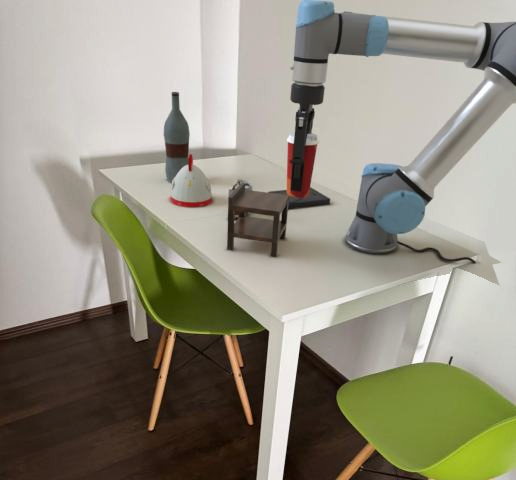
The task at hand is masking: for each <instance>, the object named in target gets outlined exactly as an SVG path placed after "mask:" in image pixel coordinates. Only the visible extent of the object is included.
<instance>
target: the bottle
mask: <svg viewBox="0 0 516 480" xmlns="http://www.w3.org/2000/svg"><path fill="white" fill-rule="evenodd" d="M170 94H171V109H170V112H169V114H168V116H167V118H166V120H165V121H164V125H163V140H164V146H165V148H164V149H165V156H166V157H165V166H164V167H165V170H164V171H165V176H166V180H167V181H168V182H169V183H171V184H172V180H173V179H174V177H176V175H177V173H178V172H179V171H180V170H181V169H182V168H183V167H184V166H186V165H188V163H189V152H190V149H189V148H190V137H191V136H190V127H189V123H188V121H187V119H186V118H185V116H184V114H183V112H182V111H181V107H180V92H179V91H172V92H170Z"/></svg>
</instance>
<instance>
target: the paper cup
mask: <svg viewBox="0 0 516 480" xmlns="http://www.w3.org/2000/svg"><path fill="white" fill-rule="evenodd" d="M294 136H295V131H294V132H290V133H289V135H288V137H287V138H286V142H287V155H286V157H287V159H286V161H287V163H286V190H287V194H288V195H289V196H292V197H299V198H301V197H307V196H308V195H309V190H310V187H311V184H312V178H313V173H314V167H315V162H316V161H315V160H316V154H317V150H318V149H317V148H318V144H320V141H319V140H318V139H319V137H318V135H317V134H315V133H310V134H308V135H307V139H306V147H305V156H304V173H303V183H302V191H301V192H300V191H292V190H290V188H291V177H292V166H293V163H290V160H292V155H293V146H294ZM297 158H299V157H297Z"/></svg>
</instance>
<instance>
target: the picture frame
mask: <svg viewBox="0 0 516 480" xmlns="http://www.w3.org/2000/svg"><path fill="white" fill-rule="evenodd" d="M267 193H275V194H282V195H288V194H287V189H281V190H270V191H268V192H267ZM325 205H326V206H327V205H331V198H330V197H328V196H326V195H325V194H323V193H322V192H320V191H318V190H316V189H315V188H312V187H311V186H310V190H309V195H308V196H307V197H301V198H299V197H292V196H289V204H288V210H292V209H293V210H295V209H301V208H309V207H316V206H317V207H318V206H325Z"/></svg>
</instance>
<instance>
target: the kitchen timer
mask: <svg viewBox="0 0 516 480" xmlns="http://www.w3.org/2000/svg"><path fill="white" fill-rule="evenodd" d="M188 157H189V163H188V165H186V166H184V167H183V168H182V169H181V170H180V171H179V172H178V173H177V175H176V177H174V179H173V180H172V183H171V186H170V202H171V203H172V204H174V205H176V206H179V207H185V208H200V207H205V206H208V205H210V204H211V203H212V201H213V199H212V198H213V194H212V186H211V181H210V179H209V178H208V177H207V176H206V175H205V173H204V171H203V170H202V169H201V168H199V166H197V165H195V164H194V159H193V154H190V153H188Z"/></svg>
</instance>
